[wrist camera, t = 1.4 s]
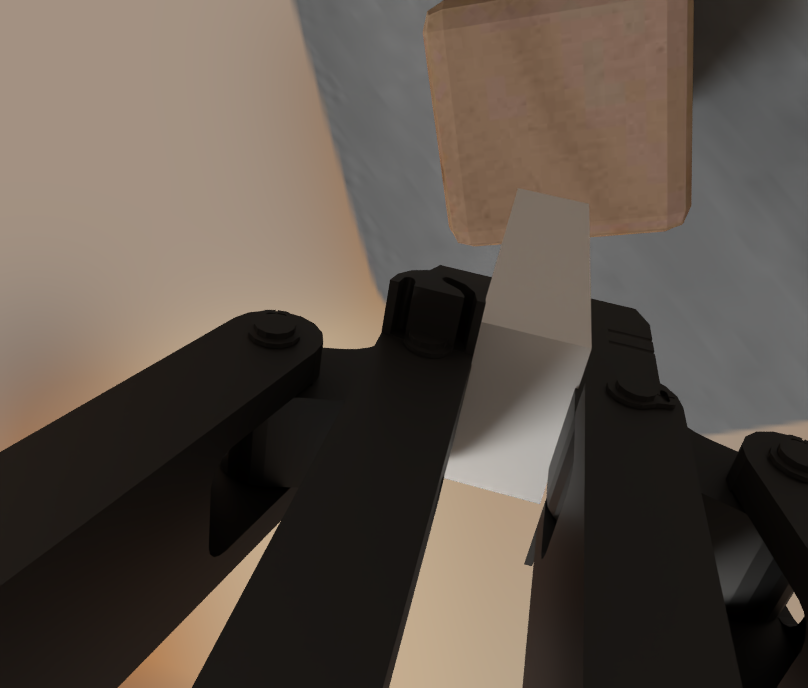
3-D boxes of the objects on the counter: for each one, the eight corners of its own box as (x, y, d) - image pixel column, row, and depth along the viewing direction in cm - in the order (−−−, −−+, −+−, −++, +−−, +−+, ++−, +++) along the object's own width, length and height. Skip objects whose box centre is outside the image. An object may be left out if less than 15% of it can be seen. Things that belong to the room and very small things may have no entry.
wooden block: (496, 151, 49) (448, 255, 32) (479, -13, 45) (413, 5, 28) (653, 133, 46) (693, 237, 29) (652, -43, 42) (698, -43, 25)
